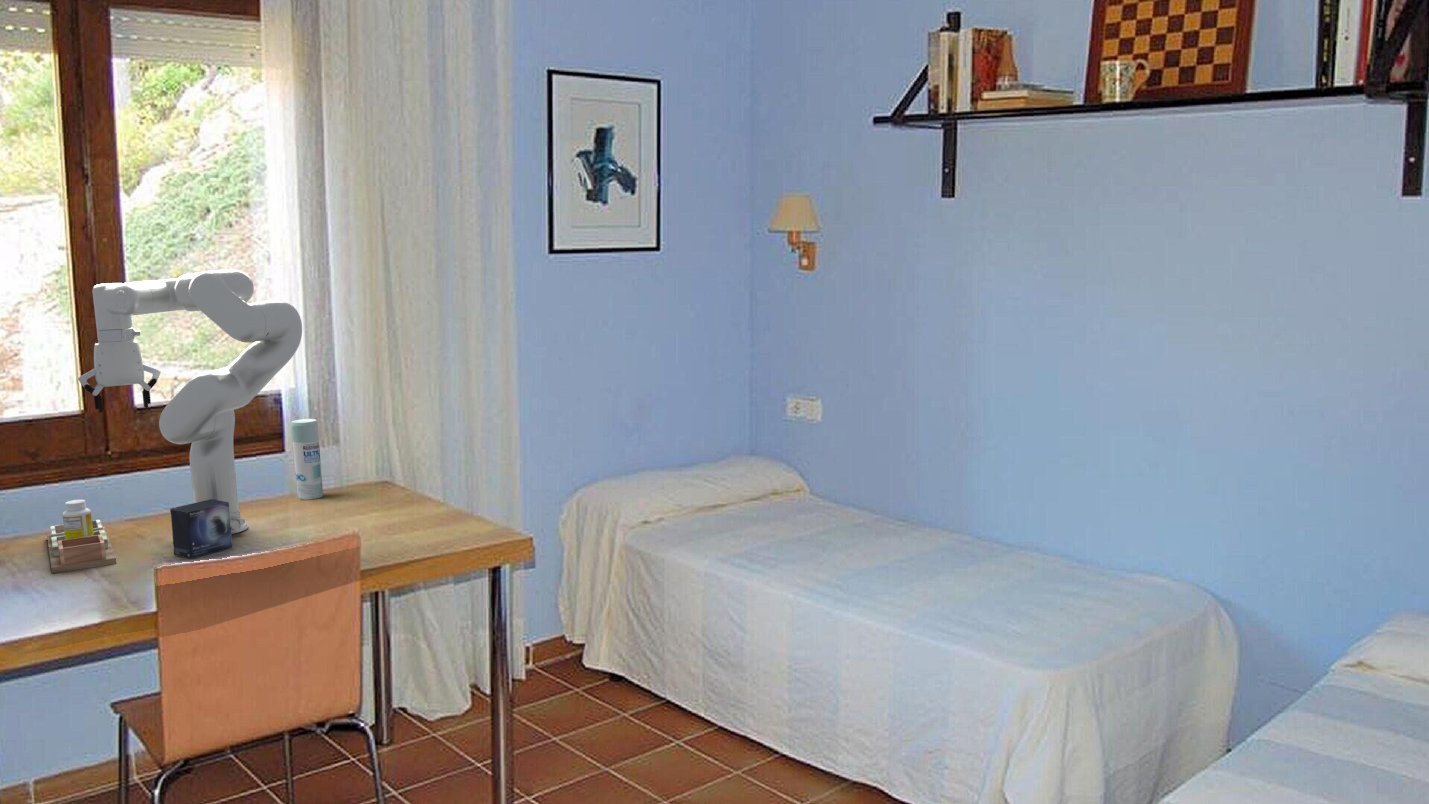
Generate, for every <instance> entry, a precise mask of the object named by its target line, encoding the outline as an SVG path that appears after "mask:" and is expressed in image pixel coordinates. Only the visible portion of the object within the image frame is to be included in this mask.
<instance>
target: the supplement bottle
mask: <svg viewBox="0 0 1429 804" xmlns="http://www.w3.org/2000/svg"><path fill="white" fill-rule="evenodd" d="M64 505H65V507H64V508H65V510H64V511H63V512H62V514H61V515H62V524H64V531H65V539H72V538H79V537H86V536H93V535H94V534H93V525H92V512H91V508H89V507H87V504H86V500H85V499H72V500H68V501H66V502H65V503H64Z"/></svg>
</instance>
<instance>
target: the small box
mask: <svg viewBox="0 0 1429 804" xmlns="http://www.w3.org/2000/svg"><path fill="white" fill-rule="evenodd" d="M169 511H170V512H169V513H170V516H171V517H170V518H171V531H172V533H171V534H172V543H173V556H176V557H180V558H181V557H182V558H187V559H195V558H199V557H202V556H206V555H209V554H213V553H217V552H222V551H225V550H228V549H232V548H233V540H232V539H233V538H232V534H231V525H230V513H229V502H224V501H219V500H214V499H210V500H205V501H201V502H197V503H194V502H193V503H190V504H183V505H180V506H175V507H172V508H170V509H169Z"/></svg>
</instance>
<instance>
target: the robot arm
mask: <svg viewBox="0 0 1429 804" xmlns="http://www.w3.org/2000/svg"><path fill="white" fill-rule="evenodd" d="M254 288H255V285H254V284H253V280H252V279H251V277H250V276H249V275H248V274H247V273H246V272H243V271H242V270H238V269H230V268H229V269H228V268H227V269H219V270H217V269H216V270H207V271H205V270H204V271H201V272H194V273H192V272H190V273H186V274H182V275H180V276H179V277H178V278H177V277H176V278H175V277H174V278H169V279H156V280H154V279H153V280H141V281H131V282H124V283H122V282H112V283H111V282H110V283H109V282H107V283H100V284H98V283H97V284H96V285H94V286H93V288H92V298H93V306H94V307H93V308H94V316H95V317H94V318H95V327H96V336H97V343H94V346H93V366H94V368H92V369H91V370H89V371H88V372H85V373H84V374H82V375H80V376H79V377H78V382H79V383H80V384H81V386H82V387H83V388H84V389H85V390H86V391H87V392H89V394H91V395H93V401H94V408H95V410H98V413H100V414H101V413H103V411H104V410H103V409H104V408H103V400H102V399H103V398H102V395H101V394H100V393H101V391H102V390H103V389H104V387H115V386H116V387H119V386H127V385H128V386H130V385H137V384H138V385H139V386H141V387H142V390H141V392H142V401H143V402H142V403H143V407H144V408H145V409H149V404H152V402H151V401H152V400H151V389H152V388H153V387H154V386H155V385H156V384H157V383H158V380H159V378H160V376H161V371H160V370H159V369H156V368H153V367H151V366H148V365H145V364H144V363H143V358H142V357H143V356H142V354H141V351H140V350H141V349H140V346H139V342H138V340H135V338H136V337H141V330H139V329H138V330H136V329H135V328H133V327H134V326H133V319H132V316H139V315H149V314H158V313H166V312H174V311H175V312H176V311H184V310H185V311H187V312H199V311H200V312H201V313H203V315H205V316H206V317H207V318H208V319H209V320H211V321H212V322H213V323H214V324H216V325H217V327H219V328H220V329H221V330H223V331H224V332H225V334H227V335H228V336H230V337H231V338H232V339H234V340H236V341H238V342H241V343H248V344H249V343H251V344H250V345H249V346H248V347H246V348H245V349H244V350H243V351H241V353H240V355H239V356H237V358H236V359H234V361H232V362H231V363H230V364H228V366H225V367H222V368H218V369H213V370H209V371H204V372H201V373H200V374H197V375H196V376H194V377H193V378H191V379H190V380H189V381H188V382H186V384H185V385H184V386H183V387H182V388H181V389H180V391H178V392H177V393H176V394H175V396H174V397H173V398H171V400H170V401H169V402H168V403H167V404H166V406H165V407H164V409H162V410H161V411H162V412H161V414H160V416H159V421H158V427H159V430H160V433H161V436H163V438H164V439H165V440H167V441H168V442H170V443H172V444H175V445H186V444H190V443H191V445H190V450H189V470H190V480H191V489H192V498H193V499H192V501H193V503H197V502H201V501H205V500H210V499H214V500H219V501H224V502H229V513H230V525H231V535H234V534H238V533H241V532H243V531H246V530H247V529H248V526H249V523H248V522H247V521H246V520H245V519H244V518H242V517H241V511H240V506H239V505H240V504H239V496H238V486H237V485H238V483H237V476H236V465H235V464H236V463H235V450H234V435H235V424H236V423H235V422H236V415H235V410H237V409H241V408H243V407H245V406H246V405H248V404H249V403H251V401H253V399H254V398H256V396H257V395H258V394H259V393H260V392H261V391H262V389H264V387H266V386H267V384H268V383H269V382H271V380H273V378H274V377H275V376H276V375H277V374H278V373H279V372H280V371H281V370H282V369H283V368H284V367H285V366H286V365H287V364H288V363H289V361H290V360H291V359H292V358H293V357H294V356H295V353H296V352H297V351H298V348H299V346H300V345H301V341H302V338H303V337H302V335H303V324H302V319H301V315H300V313H299V311H298V310H297V309H296V308H295V307H294V306H293V305H292V304H290V303H288V302H285V301H282V300H281V301H280V300H265V301H256V302H255V301H254V302H249V301H250V300H251V299H252V296H253V294H254V291H255V290H254ZM145 372H147V373H149V374H152V377H151V379H149V381H148V382H146V381H145ZM92 377H94V378H95V383H96V385H95V386H94V387H93V386H91V385H90V384H89V383H88V379H90V378H92Z"/></svg>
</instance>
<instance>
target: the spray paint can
mask: <svg viewBox="0 0 1429 804" xmlns="http://www.w3.org/2000/svg"><path fill="white" fill-rule="evenodd" d="M290 422H291V423H290V431H291V441H292V450H293V460H294V469H295V480H296V491H297V492H296V493H297V498H298V500H302V501H304V500H316V499H320V498H322V497H323V496H324V488H323V477H322V476H323V475H322V465H321V453H320V452H321V451H320V438H319V436H320V435H319V426H318V420H317V419H315V418H304V419H303V418H302V419H301V418H300V419H295V420H292V421H290Z"/></svg>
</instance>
